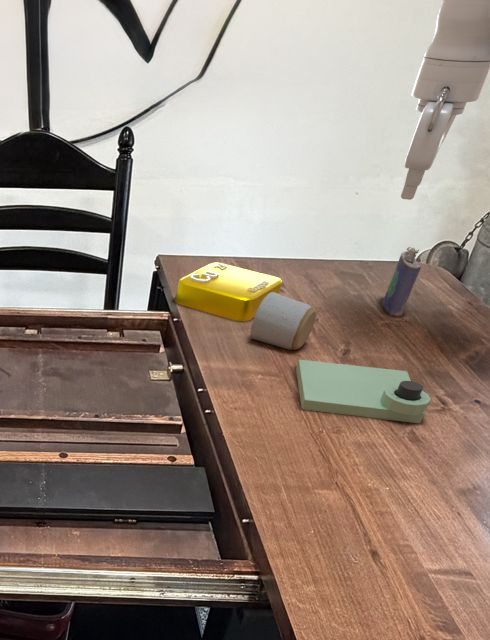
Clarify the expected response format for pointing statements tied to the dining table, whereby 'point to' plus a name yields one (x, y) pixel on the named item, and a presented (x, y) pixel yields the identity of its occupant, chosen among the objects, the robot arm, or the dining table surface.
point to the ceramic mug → (283, 322)
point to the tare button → (409, 390)
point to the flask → (401, 283)
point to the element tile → (226, 291)
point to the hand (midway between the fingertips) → (410, 191)
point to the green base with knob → (357, 391)
